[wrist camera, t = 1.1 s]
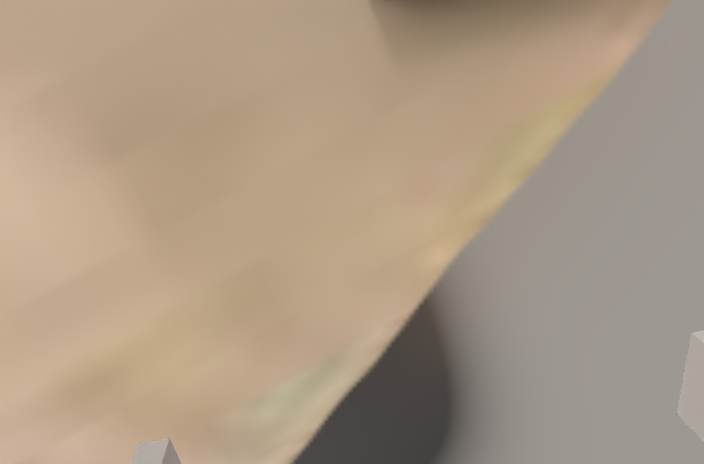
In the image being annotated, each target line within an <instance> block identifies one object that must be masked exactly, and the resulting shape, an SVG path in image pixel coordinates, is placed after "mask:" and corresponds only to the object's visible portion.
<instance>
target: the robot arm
mask: <svg viewBox="0 0 704 464" xmlns="http://www.w3.org/2000/svg"><path fill="white" fill-rule="evenodd" d="M677 414H678V416H679V417H680V418H681V419H682V420H683V421H684V422H685V423H686V424H687V425H688V426H689V427H690V428H691V429H692V430H693V431H694V432H695V433H696V434H697V436H699V438H700V439H701V440H702V441H703V442H704V331H699V332H693V333H691V336H690V341H689V347H688V352H687V358H686V364H685V370H684V375H683V381H682V387H681V392H680V399H679V404H678V410H677ZM131 464H181V462H180V460H179V458H178V455H177V453H176V451H175V449H174V446H173V444H172V442H171V440H170V438H165V439H160V440H155V441H150V442H145V443H140V444H138V446H137V448H136V451H135V454H134V456H133V459H132V462H131Z"/></svg>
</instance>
